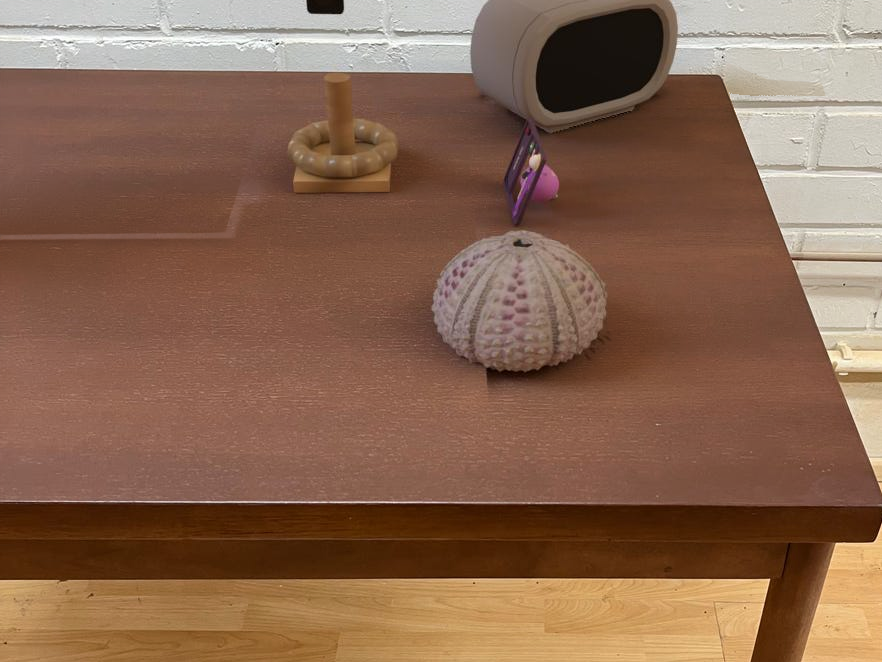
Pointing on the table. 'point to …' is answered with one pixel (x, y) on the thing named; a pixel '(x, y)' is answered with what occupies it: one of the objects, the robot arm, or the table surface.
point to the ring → (343, 163)
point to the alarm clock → (572, 56)
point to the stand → (341, 145)
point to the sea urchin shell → (519, 302)
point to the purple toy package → (529, 173)
